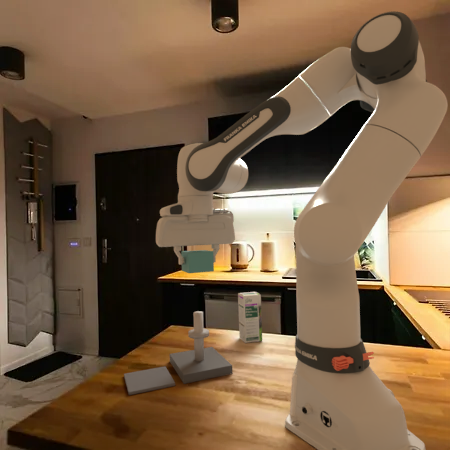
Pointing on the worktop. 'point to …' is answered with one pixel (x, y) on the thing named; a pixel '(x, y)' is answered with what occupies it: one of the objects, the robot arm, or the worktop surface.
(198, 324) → the stand
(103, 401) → the worktop surface
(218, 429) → the worktop surface
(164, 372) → the mat
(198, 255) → the collar
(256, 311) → the syrup box
